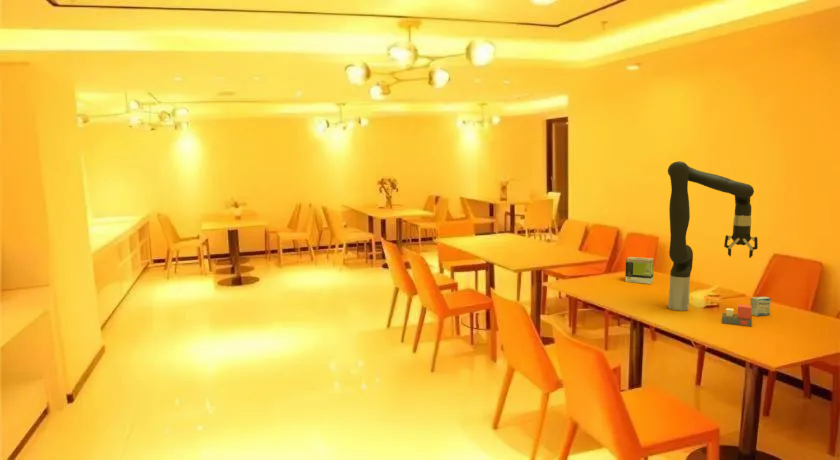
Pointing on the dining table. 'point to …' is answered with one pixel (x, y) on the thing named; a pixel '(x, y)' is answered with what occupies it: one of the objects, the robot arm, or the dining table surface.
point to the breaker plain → (729, 312)
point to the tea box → (639, 270)
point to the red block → (744, 311)
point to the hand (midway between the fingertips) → (739, 256)
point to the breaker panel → (736, 320)
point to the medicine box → (760, 306)
